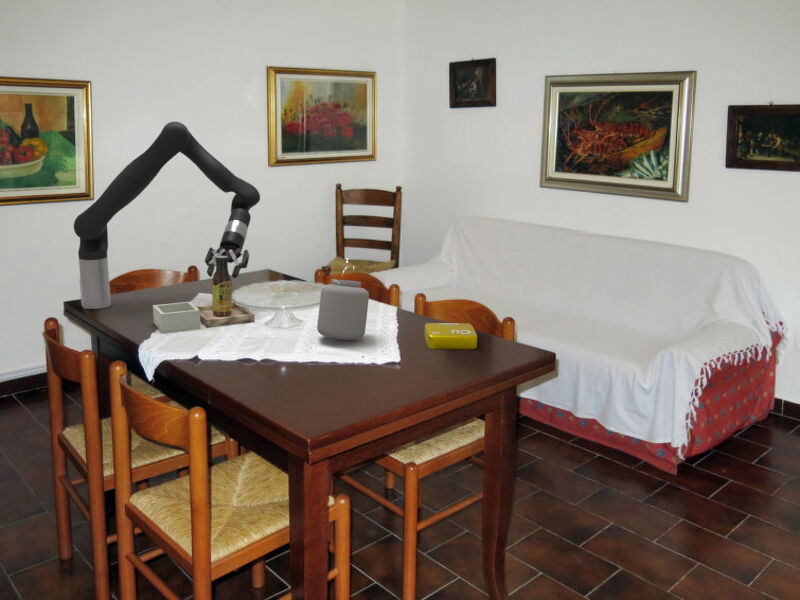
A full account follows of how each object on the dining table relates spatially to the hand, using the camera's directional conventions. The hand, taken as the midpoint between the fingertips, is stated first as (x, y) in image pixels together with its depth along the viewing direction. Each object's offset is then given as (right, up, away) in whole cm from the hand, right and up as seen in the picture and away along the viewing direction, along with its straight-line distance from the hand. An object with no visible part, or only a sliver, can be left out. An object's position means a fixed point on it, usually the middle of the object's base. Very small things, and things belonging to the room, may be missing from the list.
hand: (221, 276), depth 253 cm
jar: (+42, -20, -15) cm, 49 cm away
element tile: (+75, -21, -16) cm, 79 cm away
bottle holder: (-13, -16, -7) cm, 22 cm away
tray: (0, -14, +3) cm, 14 cm away
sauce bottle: (0, -13, +3) cm, 14 cm away
